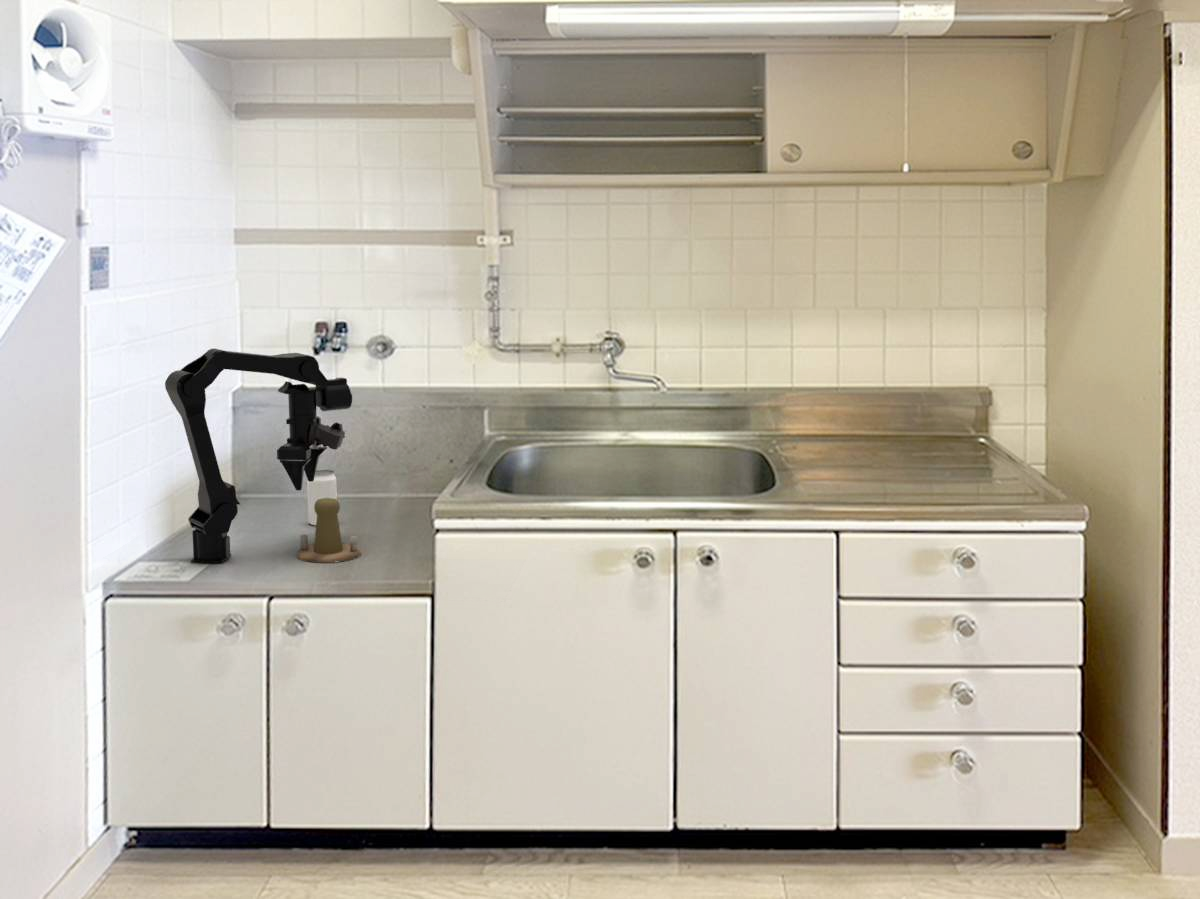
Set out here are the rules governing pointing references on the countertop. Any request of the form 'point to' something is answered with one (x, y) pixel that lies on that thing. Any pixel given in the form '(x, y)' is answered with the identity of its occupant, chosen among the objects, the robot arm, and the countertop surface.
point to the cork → (327, 527)
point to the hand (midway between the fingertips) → (304, 485)
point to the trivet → (308, 554)
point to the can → (320, 491)
